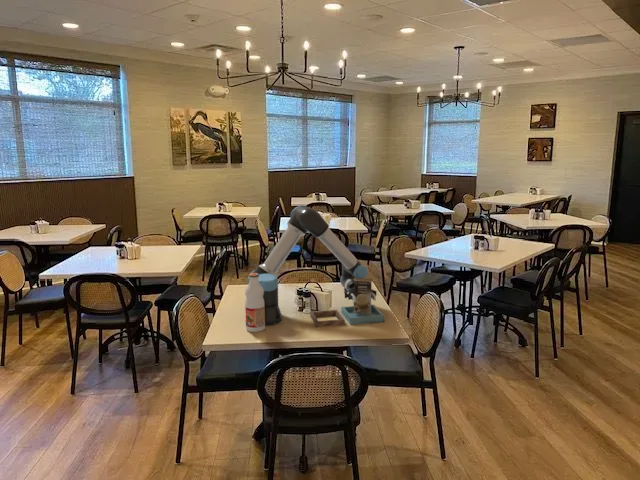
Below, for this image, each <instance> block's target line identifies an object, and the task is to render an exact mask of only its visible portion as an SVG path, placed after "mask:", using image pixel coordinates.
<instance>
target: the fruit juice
mask: <svg viewBox="0 0 640 480" xmlns="http://www.w3.org/2000/svg"><path fill="white" fill-rule="evenodd" d="M248 277H249V278H250V281H249V285H248V284H247V286H246V287H245V290H244V296H245V301H244V302H245V303H244V308H245V309H244V310H245V328H246V331H248V332H249V333H259V332H262V331H264V330H265V329H266V325H265V303H264V298H263V294H264V289H263V287H262V286H261V285H260V283H259V279H258V278H259V274H258V273H252V272H250V273H248Z"/></svg>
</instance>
